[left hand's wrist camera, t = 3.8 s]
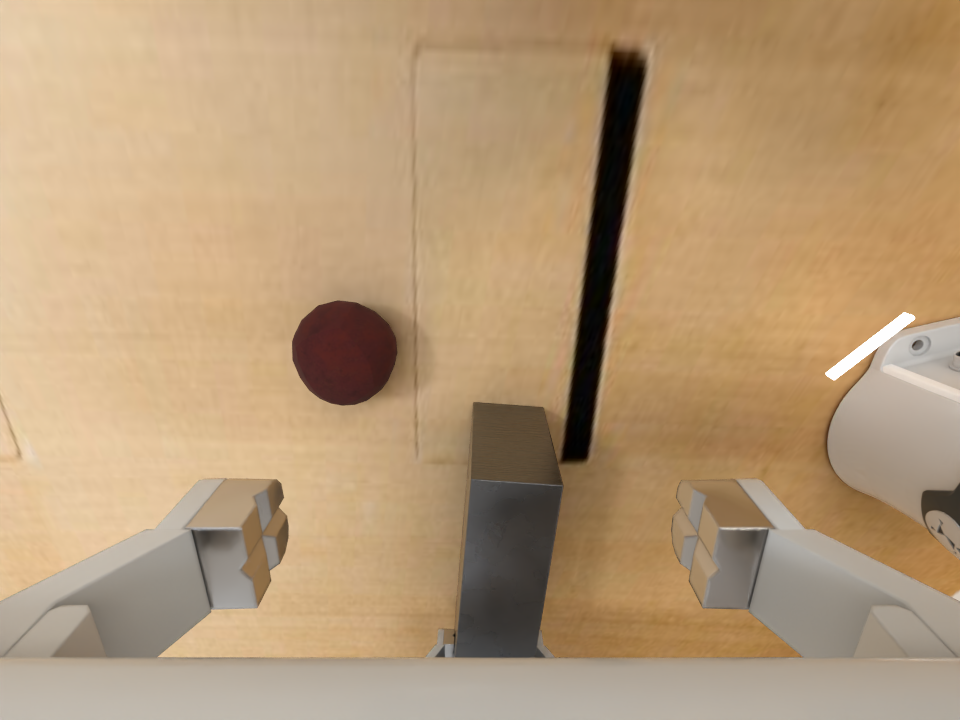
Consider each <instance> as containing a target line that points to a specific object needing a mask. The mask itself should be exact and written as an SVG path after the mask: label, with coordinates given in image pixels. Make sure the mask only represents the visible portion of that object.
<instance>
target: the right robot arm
mask: <svg viewBox="0 0 960 720" xmlns="http://www.w3.org/2000/svg"><path fill="white" fill-rule="evenodd" d="M914 319H915V318H914V316H913V315H910V314H907V313H903V314H902V315H900V316H899V317H898V318H896V319H895V320H894V321H893V322H891V323H890V324H889V325H887V326H886V327H885V328H884V329H882V330H881V331H880V332H878V333H877V334H876V335H874V336H873V337H872V338H871V339H869V340H868V341H867V342H865V343H864V344H863V345H862V346H860V347H859V348H858V349H856V350H855V351H854V352H852V353H851V354H850V355H849V356H847V357H846V358H845V359H843V360H842V361H841V362H839V363H838V364H837V365H836V366H834V367H833V368H832V369H830V370H829V371H828V372H827V373H825V374H826V375H827V376H828V377H830V378H832V379H833V380H835V379H837V378H838V377H839V376H840V375H842V374H843V373H844V372H846V371H847V370H848V369H850V368H851V367H852V366H854V365H855V364H856V363H858V362H859V361H860V360H861V359H863V358H864V357H865V356H867V355H868V354H869V353H871V352H872V351H873V350H875V349H876V348H877V347H878V346H879V347H878V349H877V351H876V353H875V356H874V358H873V360H872V363H871V365H870V367H869V369H868V370H867V372H866V373H865V374H864V375H863V377H862V378H861V379H860V380H859V381H858V382H857V383H856V384H855V385H854V386H853V387H852V388H851V390H850V391H849V392H848V393H847V394H846V396H845V397H844V398H843V400H842V401H841V403H840V405H839V406H838V408H837V410H836V412H835V414H834V416H833V419H832V421H831V424H830V428H829V432H828V440H827V449H828V455H829V459H830V463H831V465H832V467H833V469H834V471H835V472H836V474H837V475H838V476H839V478H840V479H841V480H842V481H843V482H845V483H846V484H847V485H848V486H850V487H851V488H853V489H855V490H857V491H859V492H862V493H864V494H867V495H869V496H872V497H874V498H876V499H878V500H880V501H882V502H884V503H886V504H888V505H889V506H891V507H893V508H895V509H896V510H898V511H900V512H901V513H903V514H905V515H906V516H908V517H909V518H911V519H913V520H914V521H916V522H917V523H919V524H920V525H922V526H923V527H925V528H926V529H928V531H929V532H930V533H931V534H932V535H933V536H934V537H935V538H936V539H937V540H938V541H939V542H940V543H941V544H942V545H943V546H944V547H945V548H946V549H947V550H948V551H949V552H951V553H952V554H953V555H954V556H955V557H956V558H958V559H959V560H960V317H956V318H952V319H948V320H943V321H939V322H934V323H930V324H926V325H921V326H917V327H912V328H908V329H903V330H901V329H902V328H903V327H905V326H906V325H907V324H909V323H910V322H911V321H912V320H914ZM915 341H916V343H915V345H914V346H912V345H913V343H914V342H915ZM454 648H455V629H439V630H438V639H437V645H435V646H434V647H433V648H432V649H431V651H430V652H429V653H428V654H427V656H426V657H454ZM535 658H555V657H554V656H553V654H552V653H551V652H550V651H549V650H548V649H547V647H546V646H544V645H543V638H542V631H541V630H540V631H539V637H538V643H537V649H536V655H535Z"/></svg>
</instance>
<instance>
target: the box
mask: <svg viewBox="0 0 960 720" xmlns="http://www.w3.org/2000/svg"><path fill="white" fill-rule="evenodd" d="M562 492H563V483H562V479H561V475H560V471H559V467H558V463H557V459H556V455H555V451H554V447H553V443H552V439H551V436H550V432H549V428H548V424H547V420H546V416H545V412H544V408H543V407H530V406H517V405H503V404H490V403H477V402H474V403H473V412H472V424H471V436H470V448H469V460H468V471H467V483H466V495H465V507H464V519H463V530H462V542H461V554H460V566H459V578H458V589H457V601H456V614H455V648H454V657H465V658H535V655H536V649H537V643H538V637H539V631H540V625H541V619H542V613H543V607H544V601H545V595H546V589H547V583H548V577H549V570H550V564H551V558H552V552H553V546H554V540H555V534H556V528H557V522H558V516H559V510H560V504H561V498H562Z"/></svg>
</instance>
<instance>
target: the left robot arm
mask: <svg viewBox="0 0 960 720" xmlns="http://www.w3.org/2000/svg"><path fill="white" fill-rule="evenodd" d="M283 498H284V495H283V490H282V485H281V483H280V482H279V481H278V480H277V479H226V478H205V479H202V480H198V481H197V483H196V484H195V485H194V486H193V487H192V488H191V489H190V490H189V491H188V493H187V494H186V495H185V496H184V497H183V498H182V499H181V500H180V501H179V503H178V504H177V505H176V506H175V507H174V508H173V509H172V510H171V511H170V513H169V514H168V515H167V516H166V517H165V518H164V519H163V520H162V521H161V522H160V524H159V525H158V526H157V527H156V528H155V529H146V530H144V531H142V532H140V533H138V534H136V535H134V536H132V537H130V538H128V539H126V540H124V541H121V542H119V543H117V544H115V545H113V546H111V547H109V548H107V549H105V550H103V551H101V552H99V553H97V554H95V555H93V556H91V557H89V558H87V559H85V560H83V561H81V562H79V563H77V564H75V565H73V566H71V567H69V568H67V569H65V570H63V571H61V572H59V573H57V574H55V575H53V576H50V577H48V578H46V579H44V580H42V581H40V582H38V583H36V584H34V585H32V586H30V587H28V588H26V589H24V590H22V591H20V592H18V593H16V594H14V595H12V596H10V597H8V598H6V599H4V600H2V601H0V720H960V601H958V600H956V599H954V598H952V597H950V596H948V595H946V594H944V593H942V592H940V591H938V590H936V589H934V588H932V587H929V586H927V585H925V584H923V583H921V582H919V581H917V580H915V579H913V578H911V577H909V576H907V575H905V574H903V573H901V572H899V571H897V570H895V569H893V568H891V567H889V566H887V565H885V564H883V563H881V562H879V561H877V560H875V559H873V558H871V557H869V556H867V555H865V554H863V553H861V552H859V551H857V550H855V549H853V548H851V547H849V546H847V545H845V544H843V543H840V542H838V541H836V540H834V539H832V538H830V537H828V536H826V535H824V534H822V533H820V532H818V531H816V530H814V529H805V528H804V527H803V526H802V525H801V524H800V522H799V521H798V520H797V519H796V518H795V517H794V516H793V515H792V514H791V512H790V511H789V510H788V509H787V508H786V507H785V506H784V505H783V504H782V503H781V501H780V500H779V499H778V498H777V497H776V496H775V495H774V494H773V493H772V491H771V490H770V489H769V488H768V487H767V486H766V485H765V484H764V483H763V481H761V480H759V479H757V478H742V479H720V480H681V482H680V484H679V486H678V489H677V495H676V498H677V500H678V502H679V504H680V505H681V508H680V509H679V510H678V511H677V512H676V513H675V514H674V515H673V520H672V528H671V532H672V544H673V547H674V550H675V554H676V556H677V558H678V560H679V562H680V564H682V565H683V566H684V567H686V568H687V569H689V570H690V577H689V582H690V584H691V586H692V588H693V590H694V592H695V594H696V596H697V598H698V600H699V602H700V604H701V606H702V608H715V609H749V611H748V612H750V613H751V614H752V615H753V616H754V617H756V618H757V619H758V620H759V621H760V622H762V623H763V624H764V625H765V626H766V627H768V628H769V629H770V630H771V631H772V632H774V633H775V634H776V635H777V636H778V637H780V638H781V639H782V640H783V641H784V642H786V643H787V644H788V645H789V646H790V647H792V648H793V649H794V650H795V651H796V652H798V653H799V654H800V655H801V656H802V657H754V658H465V657H254V658H176V657H158V656H159V655H160V654H161V653H162V652H164V651H165V650H166V649H167V648H168V647H170V646H171V645H172V644H173V643H175V642H176V641H177V640H178V639H179V638H181V637H182V636H183V635H184V634H185V633H187V632H188V631H189V630H190V629H191V628H193V627H194V626H195V625H196V624H197V623H199V622H200V621H201V620H202V619H203V618H205V617H206V616H207V615H208V614H209V613H211V609H244V608H258V606H259V604H260V602H261V600H262V598H263V596H264V594H265V592H266V590H267V588H268V586H269V584H270V582H271V577H270V570H271V569H273V568H274V567H276V566H277V565H278V564H280V562H281V560H282V558H283V556H284V554H285V551H286V546H287V542H288V527H289V526H288V519H287V515H286V514H285V513H284V512H283V511H282V510H281V509H280V508H279V505H280V504H281V502H282V500H283Z"/></svg>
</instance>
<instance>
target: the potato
mask: <svg viewBox="0 0 960 720" xmlns="http://www.w3.org/2000/svg"><path fill="white" fill-rule="evenodd" d="M292 353H293V362H294V364H295V367H296V369H297V371H298V374H299V376H300V378H301V380H302V381H303V382H304V384H305V385H306V386H307V388H308V389H309V390H310V391H311V392H312V393H313V394H315V395H316V396H317V397H319V398H320V399H322V400H325V401H327V402H329V403H332V404H338V405H355V404H358V403H361V402H364V401H367V400H368V399H370V398H371V397H372V396H374V395H375V394H376V393H378V392H379V391H380V390H381V389H382V388H383V387H384V385H385V384H386V383H387V381H388V379H389V377H390V374H391V372H392V370H393V367H394V365H395V361H396V356H397V345H396V338H395V336H394V334H393V332H392V330H391V328H390V326H389V324H388V323H387V322H385V321H384V320H383V319H382V318H381V317H380V316H379V315H378V314H377V313H376V312H375V311H373V310H371V309H368V308H366V307H364V306H362V305H360V304H358V303H355V302H346V301H334V302H330V303H327V304H323V305H319V306H317V307H316V308H315V309H314V310H313V311H312V312H310V313H309V314H308V315H307V316H306V317H305V318H304V319H302V321H301V323H300V325H299V327H298V329H297V331H296V333H295V335H294V338H293V341H292Z"/></svg>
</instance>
